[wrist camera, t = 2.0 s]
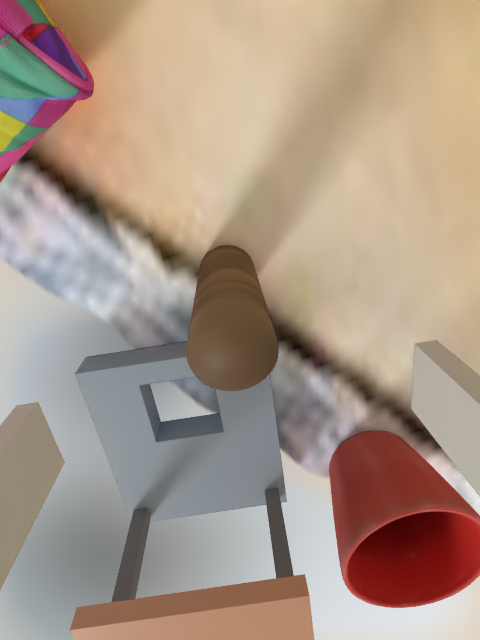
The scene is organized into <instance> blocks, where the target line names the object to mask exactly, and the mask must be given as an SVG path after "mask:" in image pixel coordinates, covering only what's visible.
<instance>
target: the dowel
mask: <svg viewBox="0 0 480 640" xmlns="http://www.w3.org/2000/svg"><path fill="white" fill-rule="evenodd" d="M186 357H187V361H188V364H189V366H190V369H191V370H192V372H193V373H194V375H195V376H196V377H197V378H198V379H199V380H200V381H202V382H203V383H205V384H206V385H208V386H210V387H212V388H215V389H219V390H223V391H240V390H244V389H248V388H251V387H253V386H255V385H257V384H258V383H260V382H261V381H263V380H264V379H265V378H266V377H267V376H268V375H269V374H270V373H271V371H272V370H273V368H274V366H275V364H276V361H277V358H278V342H277V338H276V335H275V332H274V328H273V325H272V322H271V319H270V316H269V312H268V309H267V306H266V303H265V300H264V297H263V293H262V290H261V287H260V284H259V281H258V277H257V274H256V271H255V268H254V265H253V262H252V260H251V258H250V257H249V255H248V254H247V253H246V252H245V251H243V250H242V249H240V248H238V247H235V246H230V245H225V246H219V247H216V248H214V249H212V250H211V251H209V252H208V253H207V254H206V255H205V257H204V258H203V260H202V262H201V265H200V270H199V276H198V281H197V287H196V293H195V299H194V305H193V311H192V316H191V322H190V328H189V334H188V340H187V346H186Z"/></svg>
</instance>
